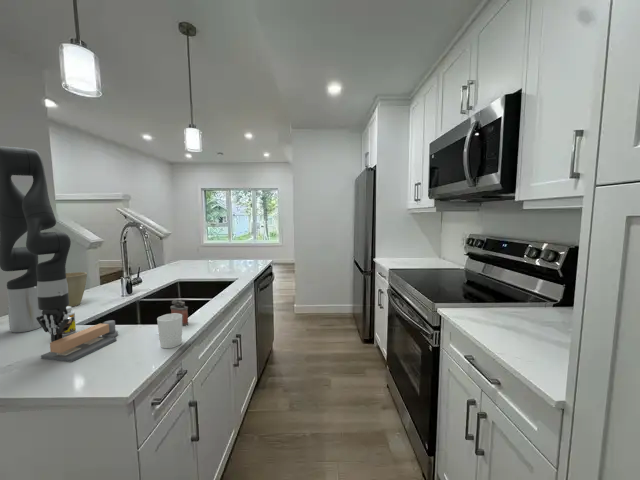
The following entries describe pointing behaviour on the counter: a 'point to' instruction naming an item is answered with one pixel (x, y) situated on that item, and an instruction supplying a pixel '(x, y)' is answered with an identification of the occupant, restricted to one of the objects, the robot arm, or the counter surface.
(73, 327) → the supplement bottle
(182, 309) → the lighter
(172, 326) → the white cup
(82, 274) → the plant pot
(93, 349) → the gray base panel
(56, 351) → the swing bar
